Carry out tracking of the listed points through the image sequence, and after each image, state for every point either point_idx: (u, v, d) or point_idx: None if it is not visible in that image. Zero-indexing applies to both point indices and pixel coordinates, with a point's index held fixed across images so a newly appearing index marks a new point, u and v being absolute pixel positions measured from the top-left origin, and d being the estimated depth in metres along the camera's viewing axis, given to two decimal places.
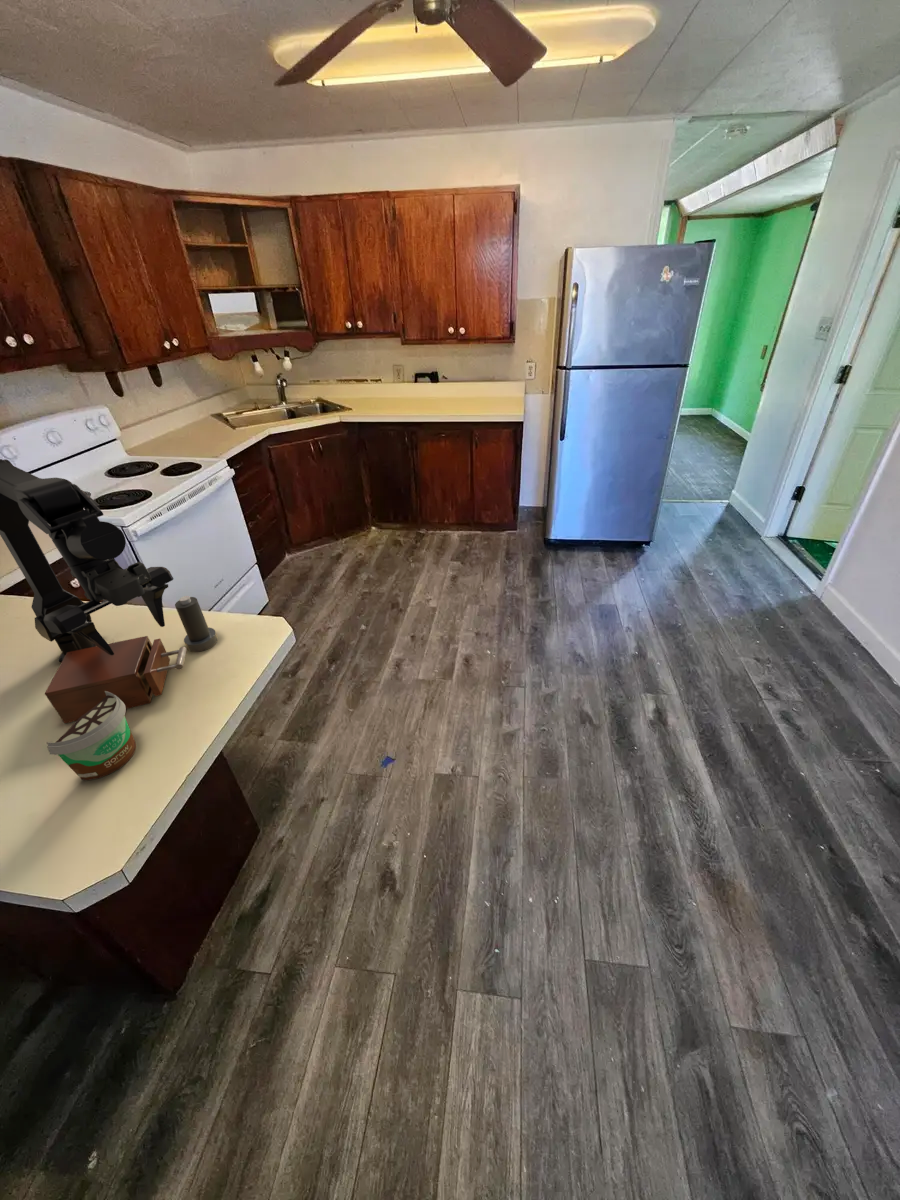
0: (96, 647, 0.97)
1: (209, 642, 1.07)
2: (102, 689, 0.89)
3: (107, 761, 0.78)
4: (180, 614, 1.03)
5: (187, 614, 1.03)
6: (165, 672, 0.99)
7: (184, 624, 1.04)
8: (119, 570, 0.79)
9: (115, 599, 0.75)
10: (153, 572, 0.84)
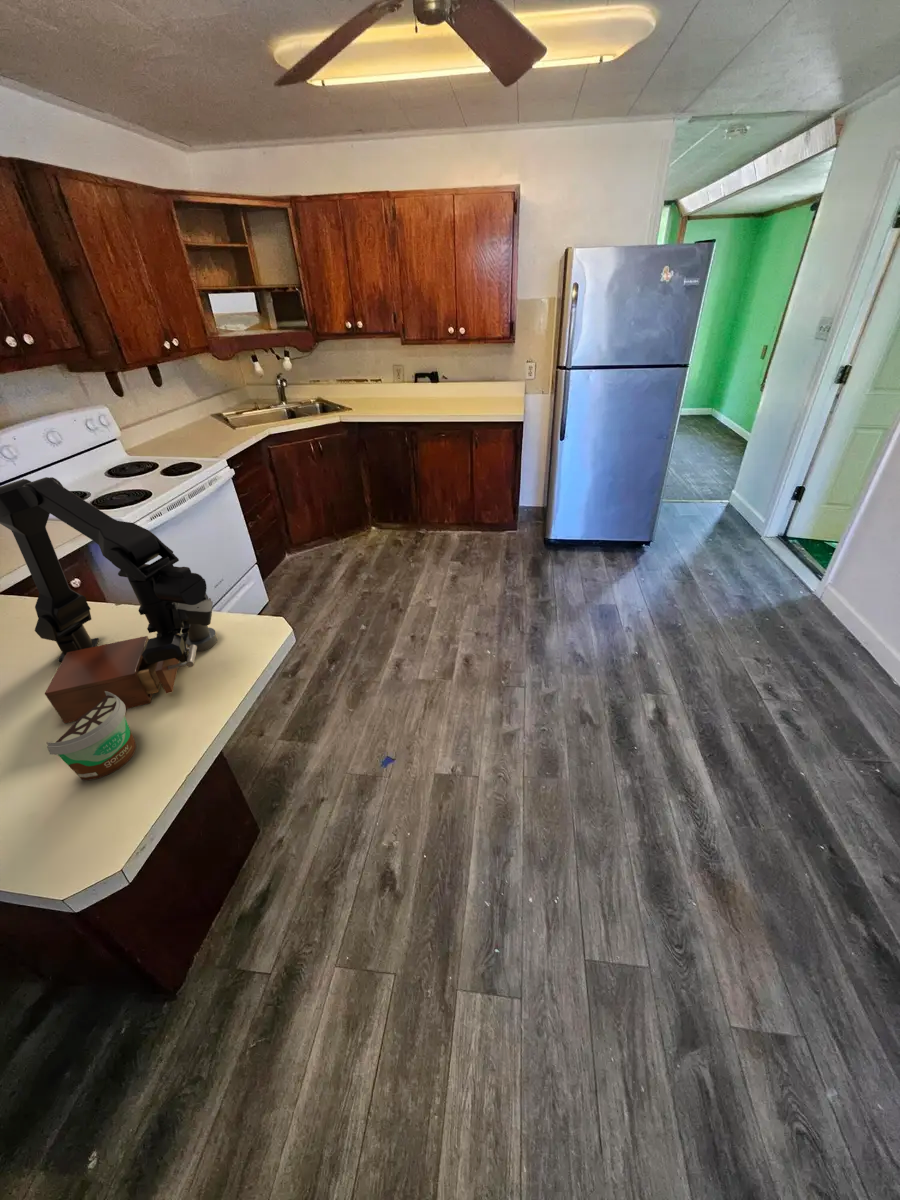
0: (96, 647, 0.97)
1: (209, 642, 1.07)
2: (102, 689, 0.89)
3: (107, 761, 0.78)
4: None
5: None
6: (175, 670, 0.99)
7: None
8: None
9: (208, 619, 0.93)
10: None
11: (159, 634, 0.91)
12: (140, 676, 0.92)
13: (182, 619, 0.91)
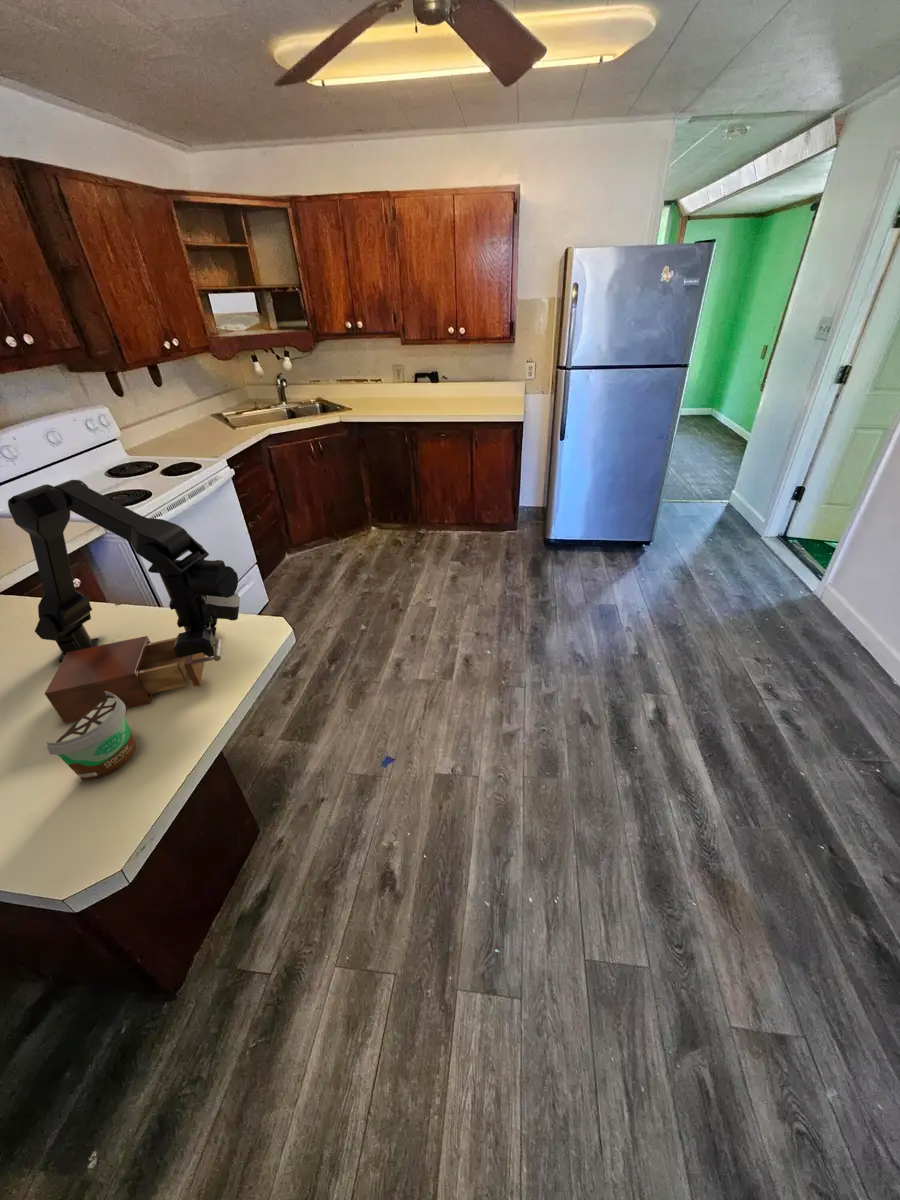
0: (96, 647, 0.97)
1: None
2: (102, 689, 0.89)
3: (107, 761, 0.78)
4: None
5: None
6: (202, 664, 1.01)
7: None
8: None
9: (236, 614, 0.95)
10: None
11: (188, 629, 0.92)
12: (169, 669, 0.93)
13: (211, 614, 0.92)
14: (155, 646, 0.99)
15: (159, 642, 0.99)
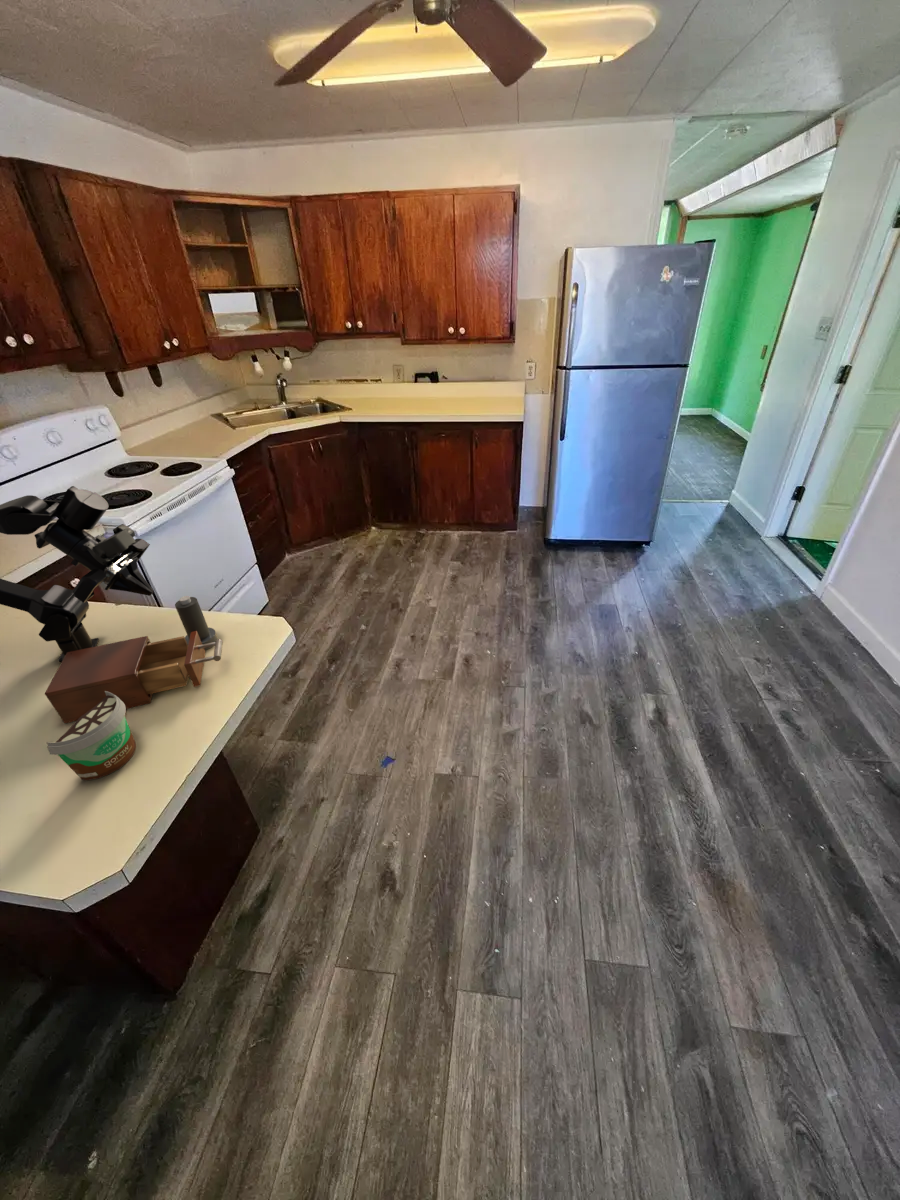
0: (96, 647, 0.97)
1: (209, 642, 1.07)
2: (102, 689, 0.89)
3: (107, 761, 0.78)
4: (180, 614, 1.03)
5: (187, 614, 1.03)
6: (202, 664, 1.01)
7: (184, 624, 1.04)
8: (108, 538, 0.98)
9: (119, 545, 0.94)
10: None
11: None
12: (169, 669, 0.93)
13: (100, 554, 0.95)
14: (155, 646, 0.99)
15: (159, 642, 0.99)
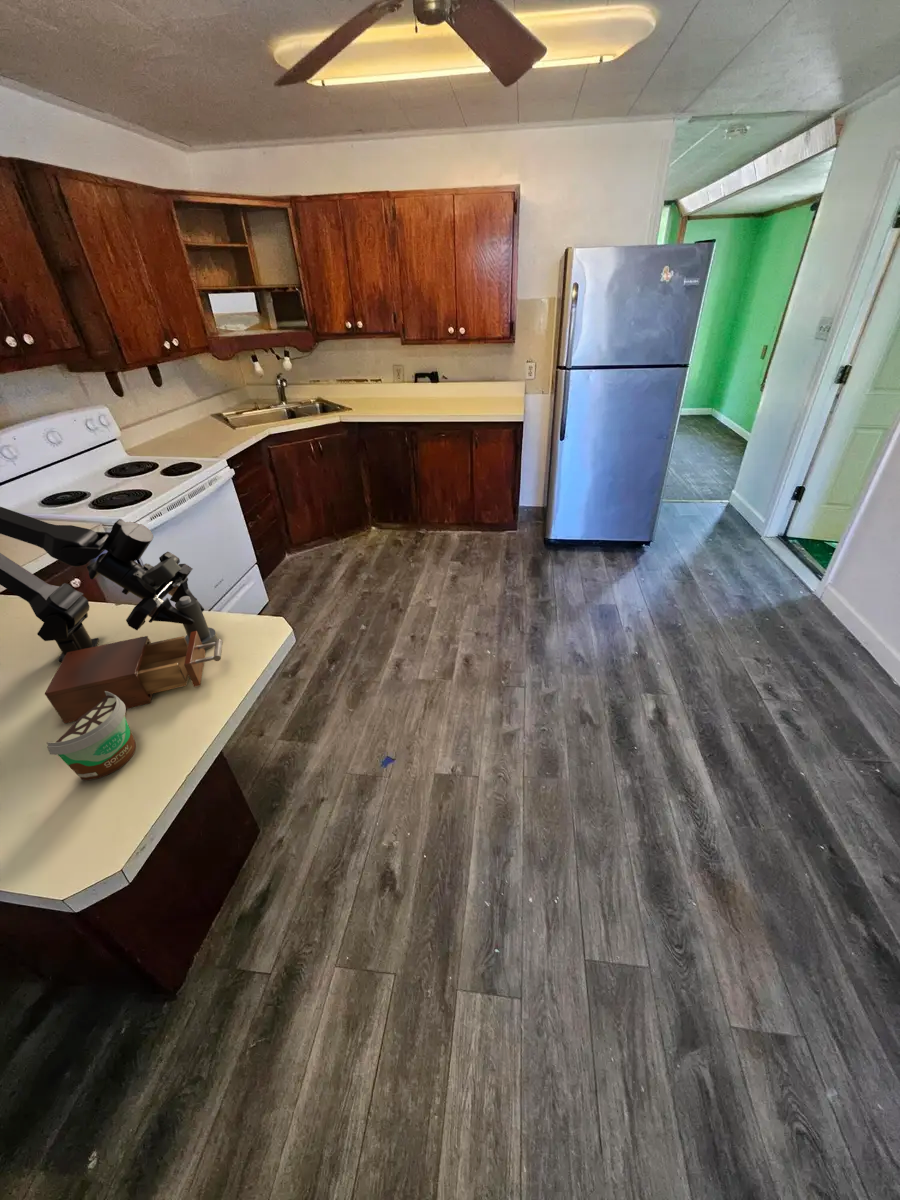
0: (96, 647, 0.97)
1: (209, 642, 1.07)
2: (102, 689, 0.89)
3: (107, 761, 0.78)
4: None
5: (187, 614, 1.03)
6: (202, 664, 1.01)
7: (184, 624, 1.04)
8: (154, 566, 1.01)
9: (166, 573, 0.97)
10: None
11: None
12: (169, 669, 0.93)
13: (149, 583, 0.98)
14: (155, 646, 0.99)
15: (159, 642, 0.99)
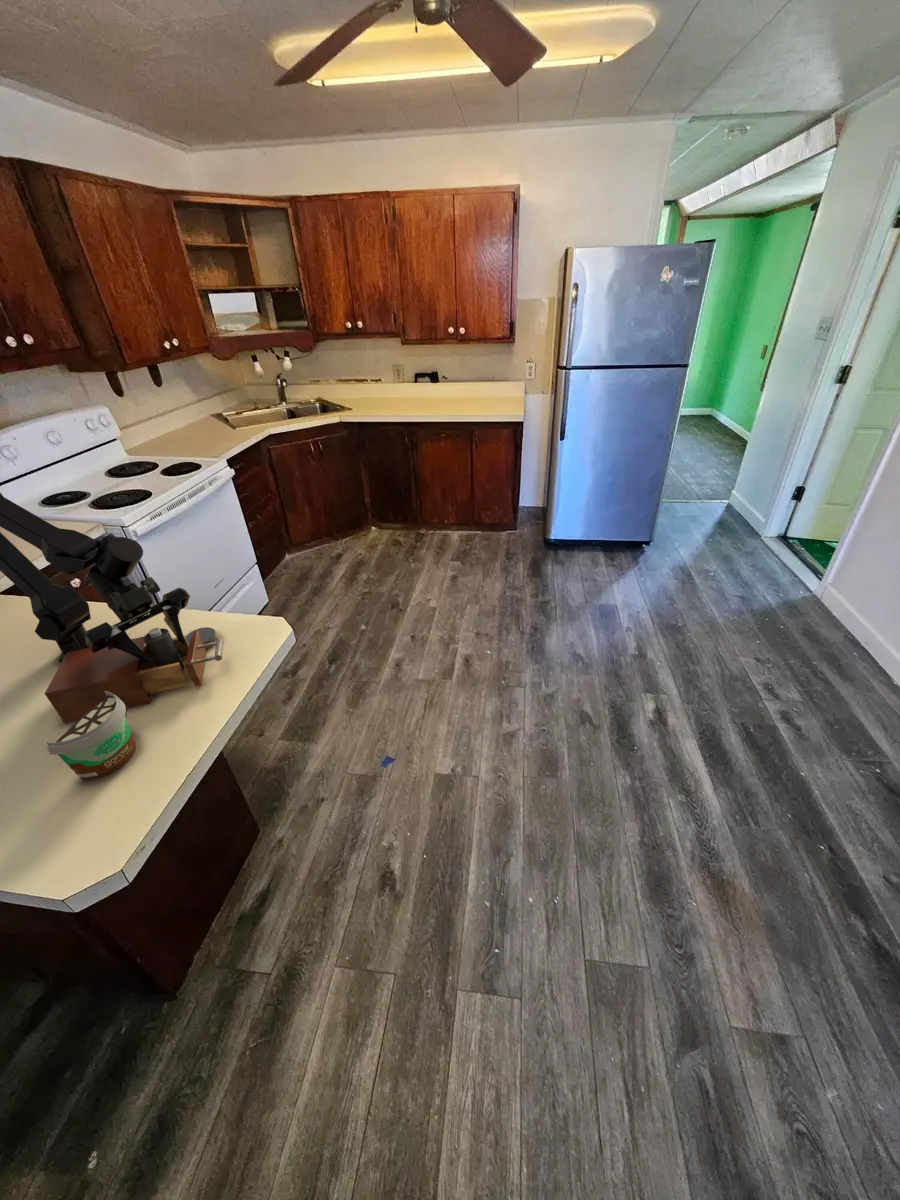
0: None
1: (209, 642, 1.07)
2: (102, 689, 0.89)
3: (107, 761, 0.78)
4: (147, 646, 0.94)
5: (151, 649, 0.93)
6: (203, 663, 1.01)
7: (152, 656, 0.95)
8: None
9: (127, 604, 0.88)
10: (170, 592, 0.98)
11: None
12: (170, 669, 0.93)
13: (117, 607, 0.90)
14: None
15: None
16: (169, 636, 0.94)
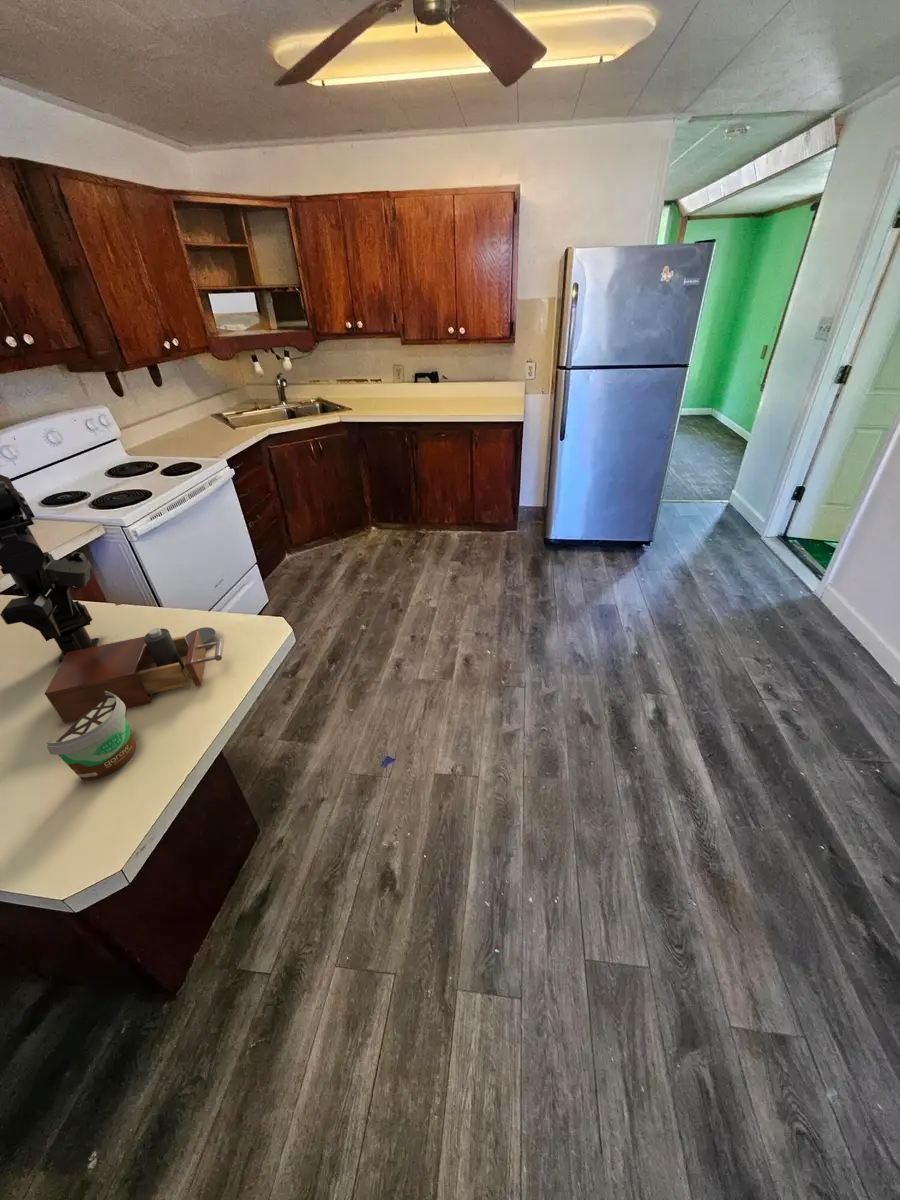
0: (96, 647, 0.97)
1: (209, 642, 1.07)
2: (102, 689, 0.89)
3: (107, 761, 0.78)
4: (147, 646, 0.94)
5: (151, 649, 0.93)
6: (203, 663, 1.01)
7: (152, 656, 0.95)
8: (59, 560, 0.90)
9: (82, 581, 0.89)
10: None
11: None
12: (170, 669, 0.93)
13: (51, 580, 0.87)
14: None
15: None
16: (169, 636, 0.94)
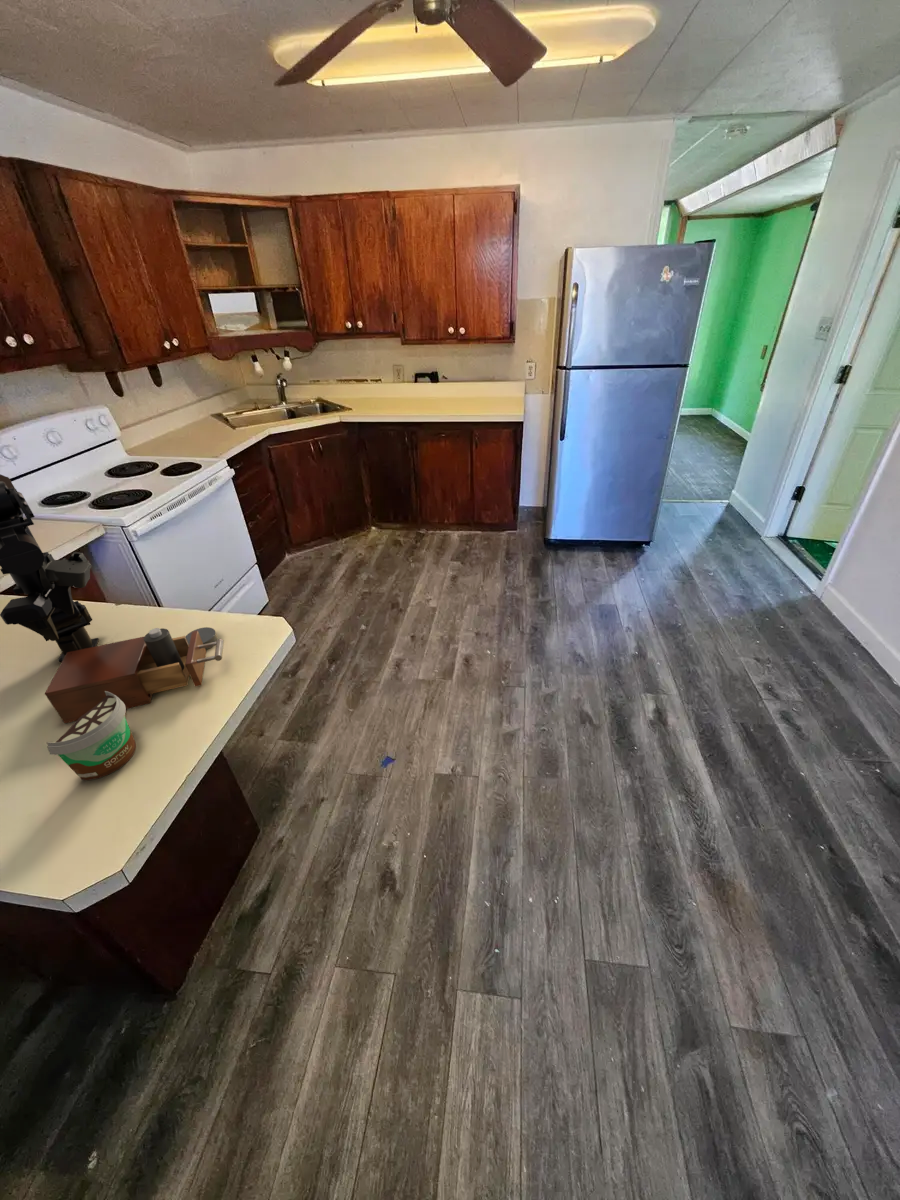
0: (96, 647, 0.97)
1: (209, 642, 1.07)
2: (102, 689, 0.89)
3: (107, 761, 0.78)
4: (147, 646, 0.94)
5: (151, 649, 0.93)
6: (203, 663, 1.01)
7: (152, 656, 0.95)
8: (59, 561, 0.90)
9: (82, 581, 0.89)
10: None
11: None
12: (170, 669, 0.93)
13: (51, 580, 0.87)
14: None
15: None
16: (169, 636, 0.94)
